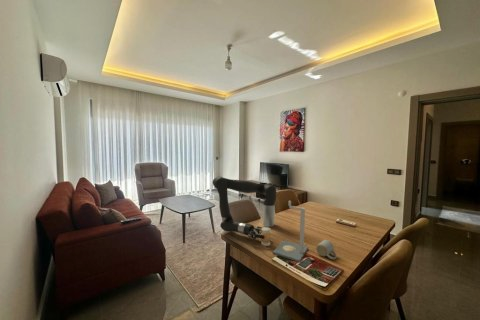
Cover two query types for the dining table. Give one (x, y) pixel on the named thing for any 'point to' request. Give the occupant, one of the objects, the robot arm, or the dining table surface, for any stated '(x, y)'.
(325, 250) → the ceramic mug
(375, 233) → the dining table surface
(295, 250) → the stand
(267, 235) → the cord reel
